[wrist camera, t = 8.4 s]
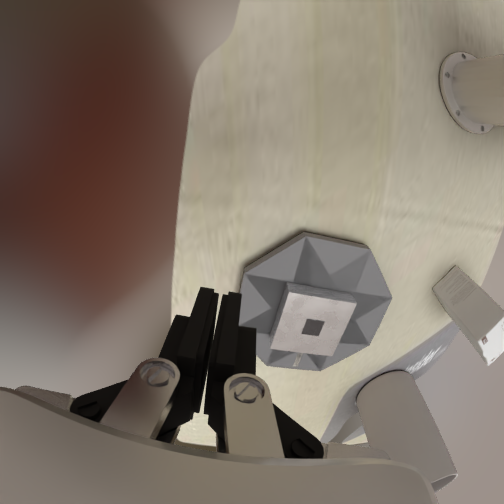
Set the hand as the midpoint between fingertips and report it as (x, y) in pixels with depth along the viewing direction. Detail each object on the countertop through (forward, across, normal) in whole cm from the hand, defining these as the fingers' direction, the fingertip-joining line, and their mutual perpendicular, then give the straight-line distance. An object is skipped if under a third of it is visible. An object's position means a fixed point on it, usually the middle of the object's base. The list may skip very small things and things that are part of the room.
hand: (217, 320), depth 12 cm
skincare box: (+26, -36, +9) cm, 45 cm away
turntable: (+24, -12, +14) cm, 30 cm away
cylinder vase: (+25, -33, +33) cm, 53 cm away
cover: (+22, -11, +14) cm, 29 cm away
